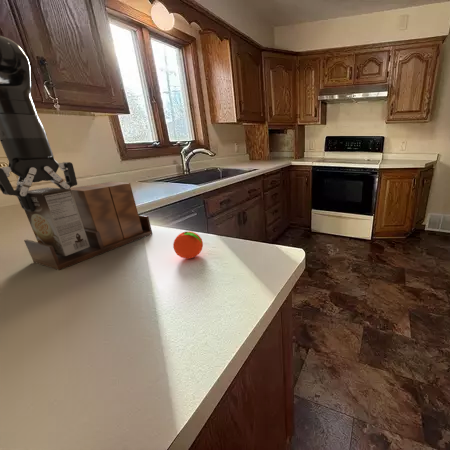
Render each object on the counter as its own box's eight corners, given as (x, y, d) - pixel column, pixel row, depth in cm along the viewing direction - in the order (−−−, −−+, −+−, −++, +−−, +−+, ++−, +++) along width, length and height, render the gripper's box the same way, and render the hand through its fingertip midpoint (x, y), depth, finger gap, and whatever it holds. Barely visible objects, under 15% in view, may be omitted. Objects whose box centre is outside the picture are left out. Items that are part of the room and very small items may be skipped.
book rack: (58, 270, 59) (30, 201, 53) (33, 262, 64) (4, 197, 58) (152, 233, 81) (139, 181, 75) (128, 229, 85) (114, 180, 79)
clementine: (213, 253, 65) (209, 228, 63) (195, 265, 59) (189, 238, 57) (190, 249, 68) (185, 226, 66) (169, 261, 62) (164, 235, 60)
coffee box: (40, 253, 63) (14, 192, 58) (68, 243, 69) (47, 187, 64) (65, 256, 61) (41, 193, 56) (92, 246, 67) (72, 188, 61)
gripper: (54, 137, 63) (75, 199, 69) (-33, 137, 51) (2, 214, 56) (71, 136, 60) (91, 201, 66) (-17, 136, 48) (18, 217, 53)
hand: (50, 207), depth 61 cm, fingers closed on coffee box, 6 cm apart
